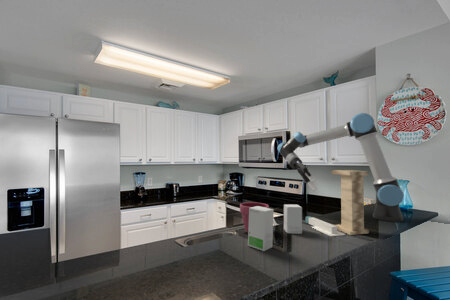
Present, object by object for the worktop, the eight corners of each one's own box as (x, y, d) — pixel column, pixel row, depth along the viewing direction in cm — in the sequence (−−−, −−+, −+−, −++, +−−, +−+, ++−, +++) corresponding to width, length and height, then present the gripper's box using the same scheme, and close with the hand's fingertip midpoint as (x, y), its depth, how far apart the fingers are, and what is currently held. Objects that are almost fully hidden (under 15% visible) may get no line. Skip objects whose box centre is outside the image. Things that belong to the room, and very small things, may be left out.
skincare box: (247, 246, 98) (247, 207, 98) (256, 242, 103) (257, 205, 103) (264, 251, 92) (264, 210, 93) (273, 247, 97) (274, 208, 98)
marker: (310, 221, 135) (310, 216, 135) (337, 233, 115) (337, 226, 115) (305, 222, 134) (305, 216, 134) (331, 233, 114) (331, 226, 114)
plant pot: (265, 226, 126) (266, 202, 127) (271, 235, 112) (271, 207, 113) (238, 226, 126) (239, 201, 127) (240, 234, 112) (241, 207, 113)
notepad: (323, 226, 128) (323, 225, 128) (345, 235, 113) (345, 234, 113) (310, 227, 125) (310, 226, 125) (331, 236, 111) (331, 235, 111)
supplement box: (302, 233, 115) (302, 207, 115) (286, 233, 115) (286, 207, 115) (298, 229, 122) (298, 204, 123) (283, 229, 122) (283, 204, 123)
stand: (349, 226, 128) (349, 170, 129) (368, 233, 116) (368, 171, 117) (332, 227, 125) (332, 170, 126) (350, 235, 113) (349, 171, 114)
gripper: (291, 172, 168) (311, 196, 154) (286, 154, 148) (307, 180, 135) (301, 166, 167) (321, 190, 154) (296, 148, 148) (318, 172, 135)
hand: (314, 185), depth 144 cm, fingers open, 13 cm apart
